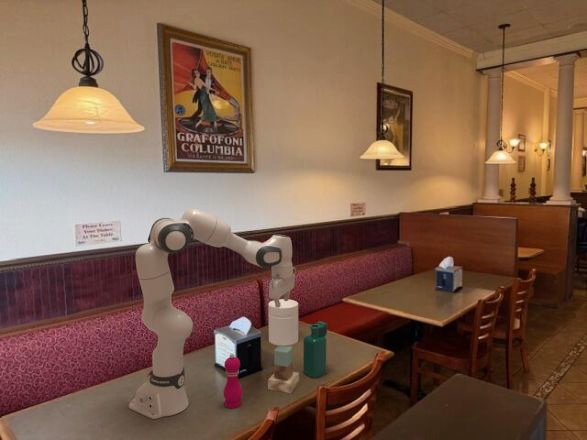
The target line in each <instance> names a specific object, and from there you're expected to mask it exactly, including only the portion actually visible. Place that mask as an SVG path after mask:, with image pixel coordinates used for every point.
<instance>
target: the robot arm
mask: <svg viewBox="0 0 587 440" xmlns="http://www.w3.org/2000/svg"><path fill="white" fill-rule="evenodd" d="M194 239H195V240H197V241H199V242H201V243H202V244H206V245H208V246H212V247H215V248H222V247H224V248H228V249H230V250H231V251H233V252H235V253H238V254H239V255H240V256H241V257H242V258H243V260H244V261H245V262H247V263H248V264H253V265H255V266H258V267H260V268H271V277H272V279H271V280H270V282H269V286H268V289H269V290H268V297H269V299H270V300H274V302H275V307H277V308H279V307H280V302H279V300H280V298H281V297H283V299H284V301H288V300H290V293H291V290H293V289H294V288H295V280H296V277H295V276H296V272H297V271H296V269H297V268H296V267H293V262H292V259H293V245H292V240H291V239H292V238H291V237H290V236H288V235H286V234H280V233H279V234H278V233H277V234H273V235H272V236H271V237H270V238H269V239H268V240H266V241H264V242H260V241H258V240H255V239H249V240H248V239H245V238H243V237H240V236H239V235H237V234H235V233H234V232H232V228H231V226H230V224H228V223H227V222H226V221H224V220H223V219H221V218H220V217H218V216H216V215H214V214H212V213H209V212H207V211H204V210H202V209H197V208H190V209H188V210H186V211H185V212H184V213H183V215H182V216H181V218H180V219H178V220H174V219H173V218H169V217H162V218H159V219H157V220H155V221H154V222H153V224H152V225H151V228H150V232H149V235H148V237H147V242H148V243H145V244H143V245H141V246H139V247H138V248H137V250H136V252H135V265H136V266H135V267H136V272H137V277H138V281H139V284H140V288H141V291H142V292H141V293H142V296H143V310H142V312H141V315H140V316H141V317H140V318H141V321H142V323H143V325H144V326H145V327H146V328H147V329H148V330H149V331H151V332H152V333H155V334H156V335H157V344H156V347H155V348H154V349H153V350H152V355H151V357H152V359H151V360H152V369H151V371H150V372H148V373H146V375H147V376H146V377H147V378H148V377H149V379H147V381H145V382H144V383H143V384H141V385H140V386H139V388H138V389H136V392H135V397H134V398H133V399H132V400H131V401H130V402H129V404H128V408H129V410H132V411H134V412H136V413H138V414H141V415H143V416H145V417H147V418H149V419H152V420H157V419H161V418H164V417H168V416H169V417H171V416H173V415H177V414H180V413H181V412H183V411H185V410H186V409H187V408H188V406H189V403H190V401H189V399H188V395H187V391H186V386H185V378H186V377H185V376H186V375H185V367H184V346H185V342H186V339H188V338H189V337H190V335H191V333H192V331H193V328H194V324H193V323H194V322H193V320H192V318H191V316H189V315H188V314H187V313H186V312H185V311H183V310H181V309H178V308H176V307H175V306H174V305H173V303H172V294H174V290H175V285H174V281H173V278H172V273H171V270H170V266H169V261H168V256H169V255H170V254H173V255H174V254H178V253H181V252H182V251H184V250H185V249H186V248H187V247H188V245H190V243H191V242H192V241H193V240H194Z"/></svg>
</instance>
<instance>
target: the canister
mask: <svg viewBox="0 0 587 440" xmlns="http://www.w3.org/2000/svg"><path fill="white" fill-rule="evenodd" d="M279 302H280V307H279V308H277V307H275V302H274V299H272V300H271V301H269V302H268V303H267V304H268V305H267V306H268V307H267V308H268V342H269V343H270V344H271V345H275V346H279V345H283V346H292V345H294V344H297V342H298V341H299V302H297V301H296V300H294V299H289V300H288V301H284V298H281V299H280V300H279Z"/></svg>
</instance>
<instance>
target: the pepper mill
mask: <svg viewBox="0 0 587 440" xmlns="http://www.w3.org/2000/svg"><path fill="white" fill-rule="evenodd" d="M223 366H224V368H225V375H226V377H227V378H226V379H227V380H226V384H225V386H224V388H223V392H222V395H223V398H224V405H225V407H226V408H229V409H235V408H238V407H240V406H241V404H242V398H241V397H242V395H243V388H242V386H241V383H240V382H239V374H240V367H241V362H240V359H239V358H238V357H237V356H235V354H234V353H230V355H229V357H228V358H227V359H225V361H224V365H223Z"/></svg>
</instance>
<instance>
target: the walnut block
mask: <svg viewBox="0 0 587 440" xmlns="http://www.w3.org/2000/svg"><path fill="white" fill-rule="evenodd" d="M273 368H274V369H273V374H274V378H275V379H280V380H286V381H288V380H289V379H290V377H291V376H292V375H293V372H294V360H293V361H292V362H291V364H290V365H289V366H288V367H286V366H280V365H274V364H273Z"/></svg>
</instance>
